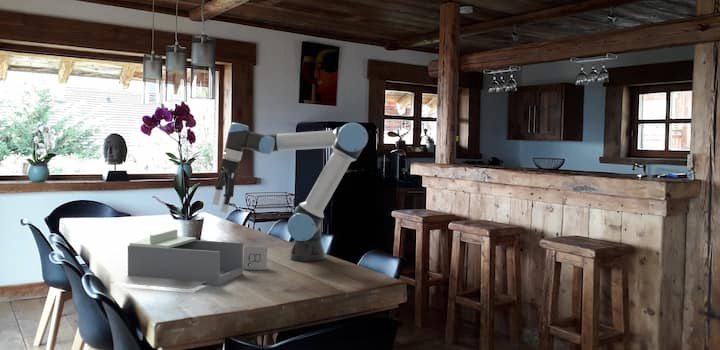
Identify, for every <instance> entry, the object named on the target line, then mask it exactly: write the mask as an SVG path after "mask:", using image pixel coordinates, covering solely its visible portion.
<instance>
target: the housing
mask: <svg viewBox="0 0 720 350" xmlns="http://www.w3.org/2000/svg"><path fill="white" fill-rule="evenodd" d="M243 260H244V243H243V242H231V241H214V240H199V239H196V240H195V241H192V242H189V243H185V244H182V245H179V246H175V247H172V248H169V249H168V248H154V247H139V246H130V244H129V245H127V276H129V277H130V276H131V277H132V276H133V277H142V278H143V277H144V278H153V279H154V278H156V279H166V280H167V279H168V280H178V281H179V280H180V281H193V282H194V281H195V282H203V283H201V285H204V286H205V285H206V286H213V287H215V286H216V287H219V286H221V285H224V284H226V283H228V282H230V281H232V280H234V279H236V278H238V277H240V276H242V275H243V274H244V272H243V271H244V269H243ZM221 271H225V273H222V272H221Z"/></svg>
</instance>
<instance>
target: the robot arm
mask: <svg viewBox="0 0 720 350" xmlns="http://www.w3.org/2000/svg"><path fill="white" fill-rule="evenodd" d="M368 141H369V133H368V131H367V129H366V128H365V127H364V126H363V125H361V124H360V123H358V122H347V123H345V124H344V125H342V126H339V127H336V128H335V129H331V130H317V131H315V130H313V131H301V132H286V133H273V134H272V133H270V134H268V133H267V134H262V133H258V132H253V131H251V130H249V126H248V125H246V124H242V123H238V122H232V123H231V124H230V127H229V130H228V132H227V138H226V142H225V145H224V149H222V153H223V155H222V158H221V161H220V167H221V168H220V172H219V175H218V176H217V179H216V181H215V183H214V187H215V188H214V189H215V190H214V195H213V196H212V197H213V198H212V202H211V204H212V205H215V206H219V204H220V202H221V201H220V200H221V196H222V192H223V190H224V194H223V196H222V197H223V198H222V202H221V207H220V209H219V212H222V213H226V214H227V213H228V211H229V207H230V206H229V205H230V203H231V198H233V197H234V192H235V191H234V190H235V180H236V175H237V173H234V171H239V168H240V161H241V160H242V157H243V152H244V149H246V150H250V151H253V152H257V153H259V154H260V153H261V154H265V155H271V154H272V153H273V152H280V151H281V152H282V151H298V150H299V151H300V150H314V149H315V150H316V149H332V153H331V154H330V155H329V158H328V160H327V162H326V164H325V165H324V167H323V169H322V171H321V172H320V174H319V176H318V177H317V179H316V181H315V183H314V185H313V187H312V189H311V190H310V192H309V194H308V196H307V197H306V199H305V201H302V202H300V203H299V204H298V205H297V206H296V207H294V208H295V209H294V213H293V215H291V217H289V219H288V222H287V226H286V227H287V232H288V234H289V236H290V237H291V238H292V239H294V241H293V245H292V248H291V251H290V254H289V255H290V260H292V261H298V262H319V261H323V260H325V256H326V254H325V251H324V247H323V243H322V221H323V219H324V218H325V215H324V210H325V208H326V207H327V205H328V203H329V202H330V200H331V198H332V197H333V195H334V193H335V191H336V189H337V187H338V186H339V184H340V182H341V180H342V179H343V176H344V175H345V173H346V172H347V170H348V168H349V166H350V164H351V163H352V162H355V161H357V159H358V158H359V156H360V154H361V152H362V151H363V149H364V148H365V147H366V146H367V144H368ZM223 187H224V188H223Z"/></svg>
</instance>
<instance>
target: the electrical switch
mask: <svg viewBox="0 0 720 350" xmlns="http://www.w3.org/2000/svg"><path fill="white" fill-rule="evenodd" d="M267 261H268V246H254V245H253V246H247V245H245V246H243V270H244V269H245V270H246V271H250V270H251V271H252V270H253V271H266V270H267V266H268V265H267V264H268V262H267ZM245 270H244V271H245Z"/></svg>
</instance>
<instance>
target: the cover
mask: <svg viewBox="0 0 720 350" xmlns="http://www.w3.org/2000/svg"><path fill="white" fill-rule="evenodd" d="M195 240H197V237H194V236H193V237H191V236H184V237H178V229H170V230H166V231H162V232H159V233H155V234H151V235H149V238H145V239H141V240H137V241H133V242H130V243H129V245H130V246H139V247H154V248H168V249H169V248H172V247H175V246H179V245H182V244H185V243H189V242H192V241H195Z"/></svg>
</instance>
